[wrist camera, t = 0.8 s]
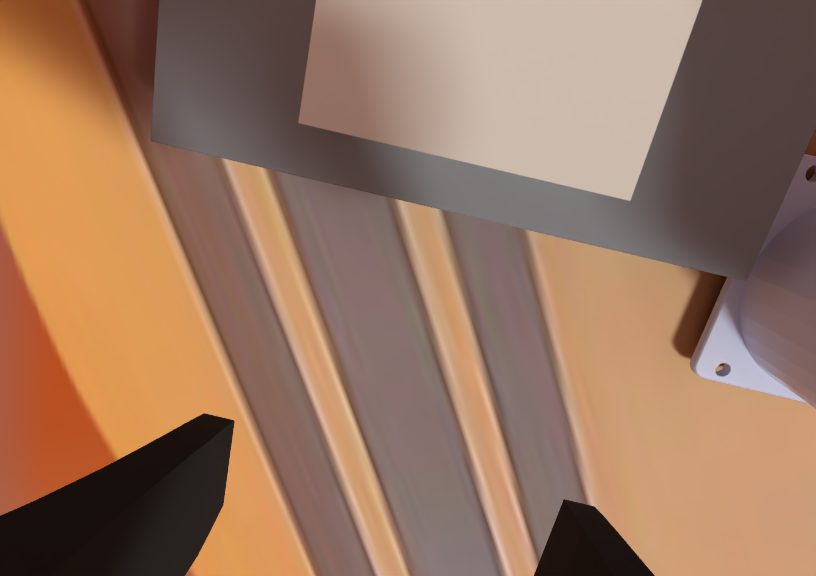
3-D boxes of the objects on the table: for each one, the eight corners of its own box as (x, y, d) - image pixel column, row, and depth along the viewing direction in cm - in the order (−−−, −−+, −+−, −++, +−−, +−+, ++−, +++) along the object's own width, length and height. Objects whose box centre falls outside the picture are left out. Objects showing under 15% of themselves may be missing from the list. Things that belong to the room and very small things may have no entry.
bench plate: (863, -149, 13) (979, -230, 10) (694, 258, 17) (746, 281, 14) (239, -292, 13) (183, -412, 11) (200, 142, 17) (150, 141, 14)
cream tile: (663, -4, 12) (717, -41, 10) (597, 191, 14) (630, 200, 11) (356, -75, 12) (335, -130, 10) (323, 127, 14) (298, 122, 11)
